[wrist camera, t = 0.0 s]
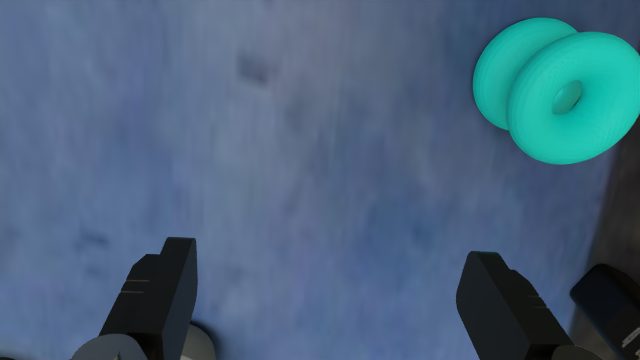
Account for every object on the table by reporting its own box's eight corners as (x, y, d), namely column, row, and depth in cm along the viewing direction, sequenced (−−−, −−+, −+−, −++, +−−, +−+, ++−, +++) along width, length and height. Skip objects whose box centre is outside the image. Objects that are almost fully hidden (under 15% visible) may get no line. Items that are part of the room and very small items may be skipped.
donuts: (536, 33, 30) (679, 38, 30) (480, 13, 39) (592, 17, 39) (502, 169, 34) (627, 171, 35) (458, 123, 43) (559, 125, 44)
